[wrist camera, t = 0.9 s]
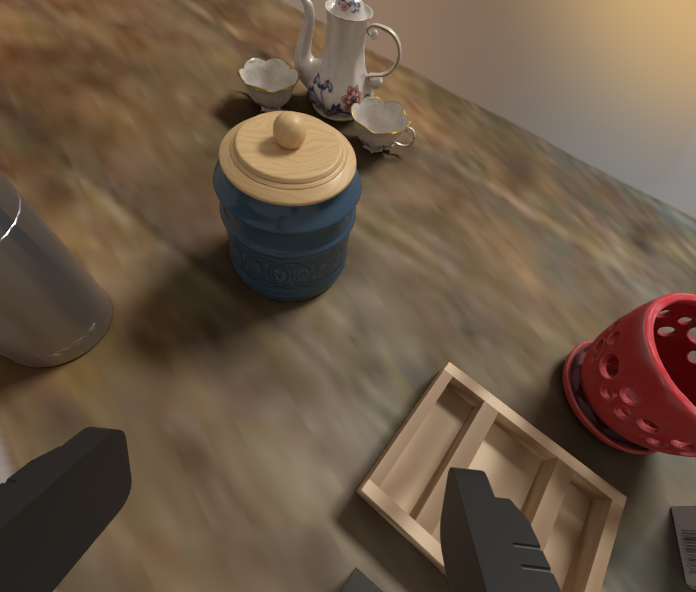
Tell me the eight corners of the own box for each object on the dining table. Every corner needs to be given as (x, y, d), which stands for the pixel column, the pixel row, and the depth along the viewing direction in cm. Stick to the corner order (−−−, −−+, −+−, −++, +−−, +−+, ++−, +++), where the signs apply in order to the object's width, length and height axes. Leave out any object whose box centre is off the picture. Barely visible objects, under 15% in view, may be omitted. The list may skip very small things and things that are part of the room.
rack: (355, 491, 30) (361, 489, 28) (438, 371, 37) (449, 361, 34) (545, 668, 26) (573, 686, 23) (600, 498, 33) (626, 497, 30)
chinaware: (227, 125, 55) (198, -2, 40) (269, 63, 62) (257, -64, 47) (401, 180, 54) (438, 71, 39) (423, 111, 61) (461, -3, 46)
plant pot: (540, 427, 35) (642, 394, 25) (559, 324, 42) (645, 266, 32) (671, 496, 34) (837, 490, 23) (669, 378, 40) (797, 334, 30)
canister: (349, 224, 45) (378, 84, 30) (339, 312, 39) (370, 189, 24) (246, 207, 44) (224, 55, 29) (218, 295, 38) (171, 155, 23)
